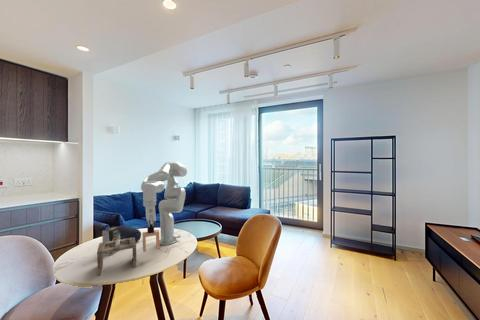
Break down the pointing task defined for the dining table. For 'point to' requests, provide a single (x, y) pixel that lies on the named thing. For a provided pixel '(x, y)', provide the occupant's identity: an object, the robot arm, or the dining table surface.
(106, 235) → the coffee box
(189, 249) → the dining table surface
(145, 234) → the tan and grey block
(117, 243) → the shelf
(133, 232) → the portable speaker
